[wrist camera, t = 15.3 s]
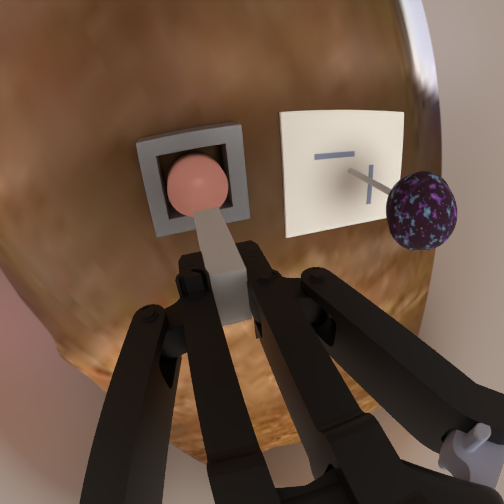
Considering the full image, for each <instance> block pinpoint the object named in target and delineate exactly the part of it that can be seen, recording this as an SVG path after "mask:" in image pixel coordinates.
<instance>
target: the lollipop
mask: <svg viewBox="0 0 504 504" xmlns="http://www.w3.org/2000/svg"><path fill="white" fill-rule="evenodd" d="M348 173H350V174H352V175H353V176H355V177H357V178H359V179H361V180H363V181H364V182H366V183H368V184H370V185H372V186H373V187H375V188H377V189H378V190H380V191H382V192H384V193H385V194H387V195H388V198H387V203H386V217H387V222H388V225H389V229H390V233H391V235H392V237H393V238H394V239H395V241H396V242H397V243H399V244H400V245H401V246H402V247H404V248H406V249H409V250H430V249H433V248H436V247H438V246H440V245H441V244H443V243H444V242H445V241H446V240H447V239H448V238H449V237H450V235H451V234H452V232H453V230H454V228H455V225H456V221H457V206H456V202H455V198H454V196H453V194H452V192H451V191H450V189H449V187H448V185H447V183H446V182H445V181H444V179H443V178H441V177H440V176H438V175H436V174H435V173H432V172H428V171H420V172H417V173H415V174H410V175H408V176H405V177H404V178H402V179H400V180H399V181H398V182H397V183H396V184H395V185H394V186H393V188H392V189H390V188H388V187H386V186H385V185H383V184H381V183H379V182H377V181H375V180H373V179H372V178H370V177H368V176H366V175H364V174H362V173H360V172H358V171H356V170H354V169H352V168H349V169H348Z"/></svg>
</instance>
